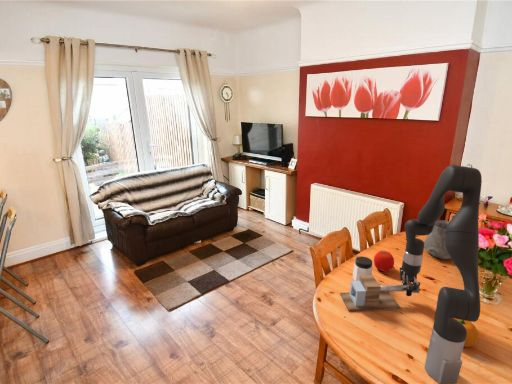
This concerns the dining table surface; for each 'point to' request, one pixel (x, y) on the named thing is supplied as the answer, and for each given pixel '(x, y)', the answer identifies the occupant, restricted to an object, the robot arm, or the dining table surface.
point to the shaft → (396, 288)
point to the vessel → (437, 240)
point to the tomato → (383, 261)
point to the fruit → (469, 333)
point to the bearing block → (371, 297)
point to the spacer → (357, 293)
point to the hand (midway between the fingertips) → (406, 293)
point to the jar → (362, 267)
